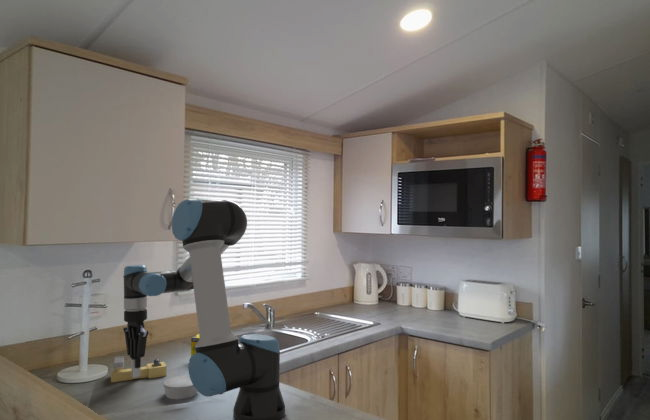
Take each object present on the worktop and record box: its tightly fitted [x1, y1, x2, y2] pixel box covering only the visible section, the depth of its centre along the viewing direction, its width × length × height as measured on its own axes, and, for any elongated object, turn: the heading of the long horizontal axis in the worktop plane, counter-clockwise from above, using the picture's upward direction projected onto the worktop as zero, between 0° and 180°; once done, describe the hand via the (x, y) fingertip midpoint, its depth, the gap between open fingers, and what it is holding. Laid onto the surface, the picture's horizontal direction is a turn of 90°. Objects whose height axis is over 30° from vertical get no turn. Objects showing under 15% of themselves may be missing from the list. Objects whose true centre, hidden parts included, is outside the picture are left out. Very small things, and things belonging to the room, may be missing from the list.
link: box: [110, 361, 167, 383], centre depth 163 cm, size 18×6×3 cm, turn 117°
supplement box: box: [190, 333, 200, 357], centre depth 183 cm, size 6×6×11 cm
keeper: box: [113, 355, 125, 371], centre depth 163 cm, size 8×3×7 cm, turn 22°
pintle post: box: [153, 358, 161, 367], centre depth 166 cm, size 2×2×6 cm
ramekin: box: [162, 374, 199, 400], centre depth 148 cm, size 11×11×5 cm
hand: (136, 376), depth 161 cm, fingers closed
